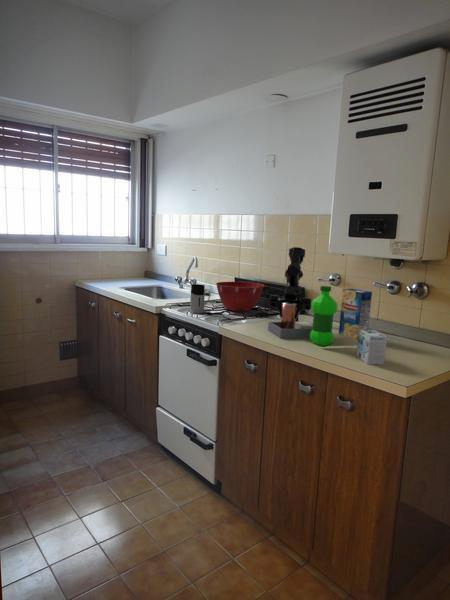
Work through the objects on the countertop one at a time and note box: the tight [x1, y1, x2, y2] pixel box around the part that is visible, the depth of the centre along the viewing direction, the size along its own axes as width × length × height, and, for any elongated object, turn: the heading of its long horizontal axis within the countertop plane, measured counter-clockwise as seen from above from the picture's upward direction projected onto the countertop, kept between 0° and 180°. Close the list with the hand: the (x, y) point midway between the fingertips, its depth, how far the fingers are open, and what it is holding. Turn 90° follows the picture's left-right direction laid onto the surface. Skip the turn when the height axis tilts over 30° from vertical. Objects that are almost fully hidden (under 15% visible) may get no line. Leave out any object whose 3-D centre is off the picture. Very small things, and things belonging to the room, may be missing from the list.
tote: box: [267, 321, 313, 340], centre depth 192 cm, size 20×15×5 cm
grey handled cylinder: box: [189, 283, 211, 314], centre depth 236 cm, size 9×14×15 cm, turn 46°
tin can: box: [280, 302, 297, 329], centre depth 190 cm, size 6×6×13 cm
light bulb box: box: [356, 329, 388, 366], centre depth 159 cm, size 11×7×11 cm, turn 5°
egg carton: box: [295, 321, 313, 329], centre depth 193 cm, size 6×9×5 cm
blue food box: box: [338, 288, 373, 341], centre depth 193 cm, size 7×11×22 cm, turn 34°
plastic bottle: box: [309, 285, 338, 348], centre depth 176 cm, size 10×10×25 cm
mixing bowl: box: [215, 281, 265, 312], centre depth 250 cm, size 28×28×15 cm
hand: (288, 317), depth 189 cm, fingers closed on tin can, 6 cm apart
